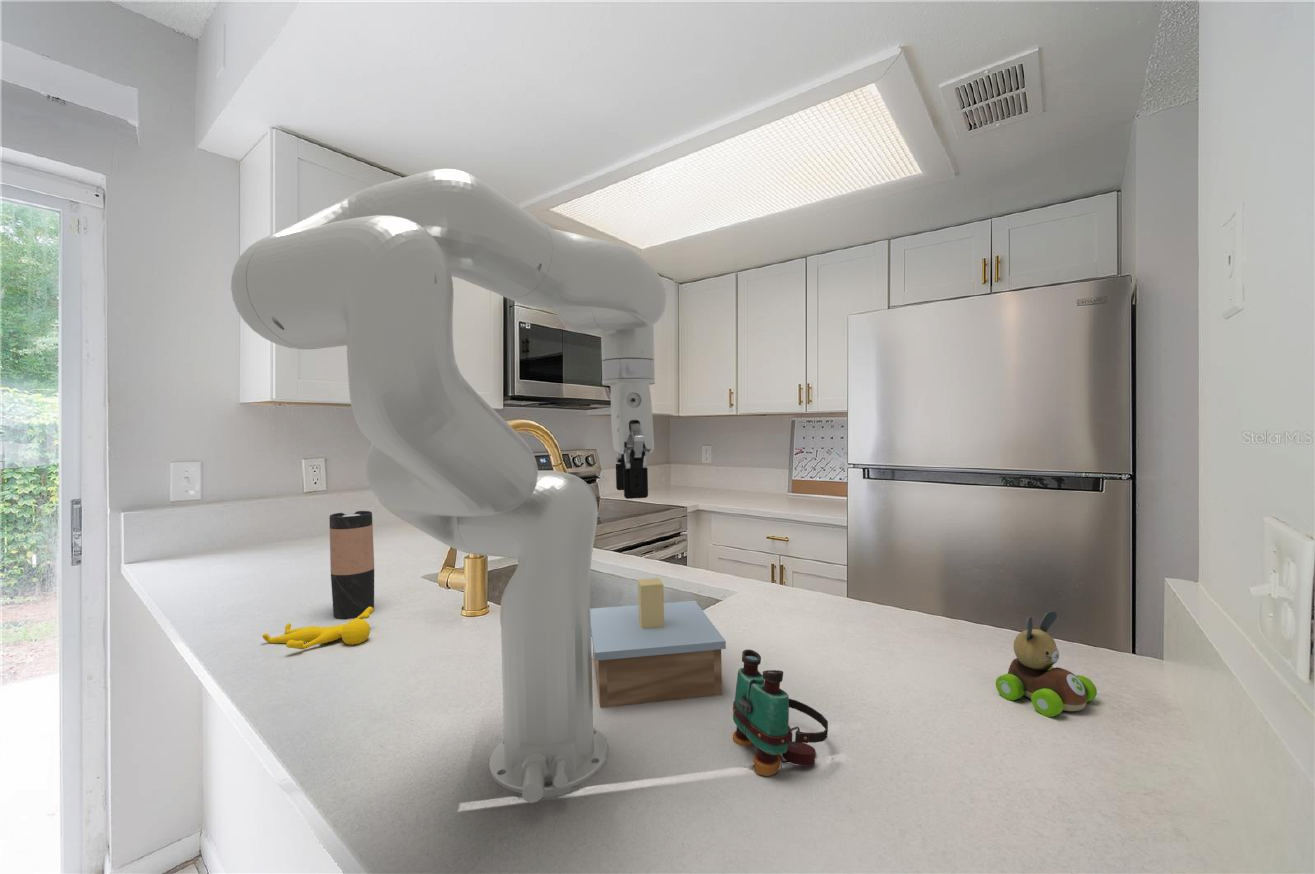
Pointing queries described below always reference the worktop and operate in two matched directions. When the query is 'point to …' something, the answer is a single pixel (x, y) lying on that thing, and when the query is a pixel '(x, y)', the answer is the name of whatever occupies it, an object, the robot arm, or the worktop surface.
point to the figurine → (325, 633)
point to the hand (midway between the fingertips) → (631, 493)
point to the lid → (652, 627)
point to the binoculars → (770, 719)
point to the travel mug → (351, 563)
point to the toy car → (1043, 674)
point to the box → (658, 677)
